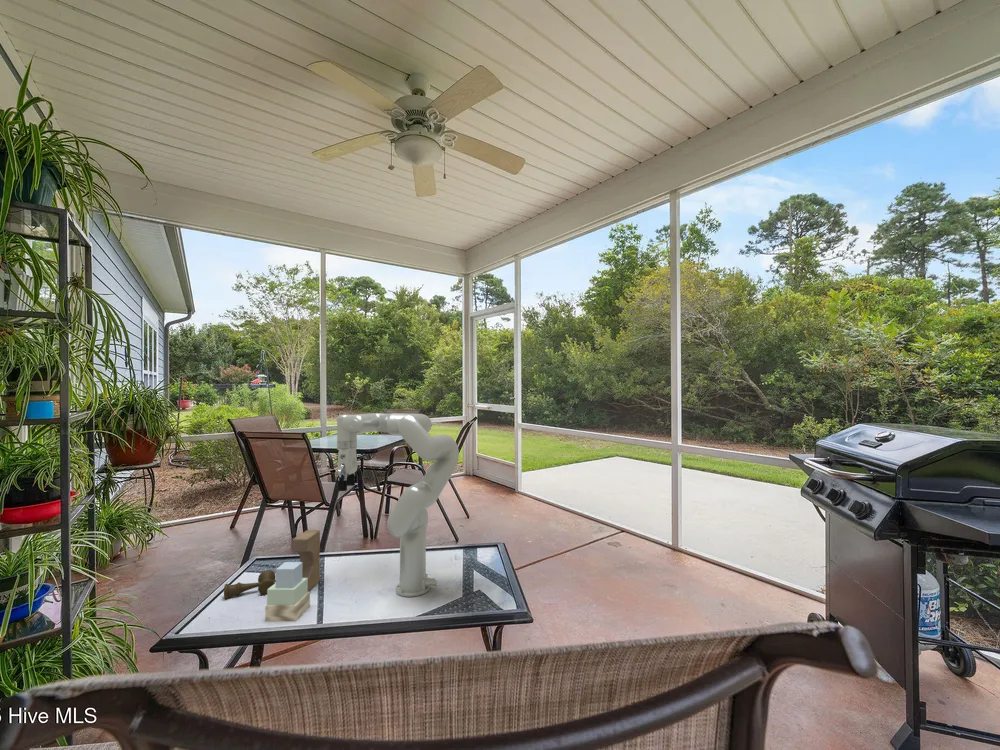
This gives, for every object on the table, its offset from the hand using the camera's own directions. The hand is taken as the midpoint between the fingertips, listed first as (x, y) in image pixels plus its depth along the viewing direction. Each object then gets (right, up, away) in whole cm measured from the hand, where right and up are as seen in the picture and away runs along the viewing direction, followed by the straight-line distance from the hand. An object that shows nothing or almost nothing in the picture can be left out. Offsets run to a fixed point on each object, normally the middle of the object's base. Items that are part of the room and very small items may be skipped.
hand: (346, 488), depth 173 cm
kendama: (-30, -36, -13) cm, 48 cm away
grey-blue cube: (-9, -25, -28) cm, 39 cm away
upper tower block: (-10, -30, -28) cm, 42 cm away
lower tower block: (-10, -35, -28) cm, 46 cm away
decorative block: (-12, -36, -9) cm, 39 cm away
